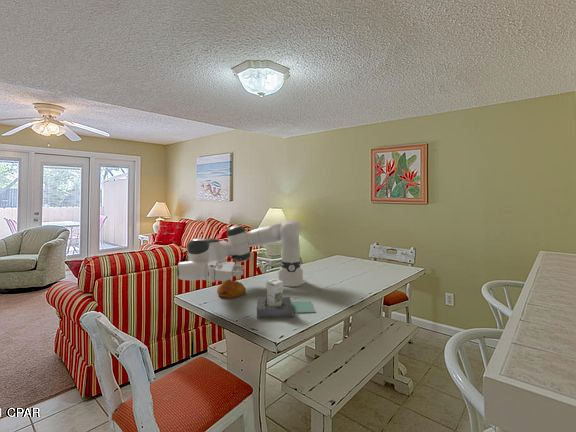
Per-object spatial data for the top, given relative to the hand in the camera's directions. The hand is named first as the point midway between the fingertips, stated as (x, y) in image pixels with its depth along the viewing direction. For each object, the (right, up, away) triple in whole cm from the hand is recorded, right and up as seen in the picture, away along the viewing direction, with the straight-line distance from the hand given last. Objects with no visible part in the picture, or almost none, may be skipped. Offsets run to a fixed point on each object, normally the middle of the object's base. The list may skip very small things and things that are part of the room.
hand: (243, 270), depth 141 cm
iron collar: (+14, -20, +3) cm, 24 cm away
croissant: (-11, -18, +26) cm, 34 cm away
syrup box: (+14, -20, +3) cm, 24 cm away
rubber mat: (+27, -20, +8) cm, 35 cm away
